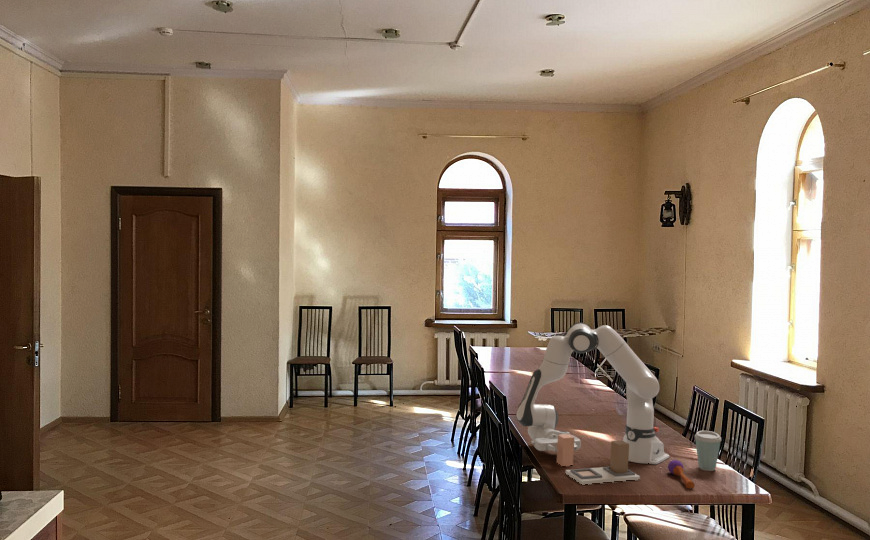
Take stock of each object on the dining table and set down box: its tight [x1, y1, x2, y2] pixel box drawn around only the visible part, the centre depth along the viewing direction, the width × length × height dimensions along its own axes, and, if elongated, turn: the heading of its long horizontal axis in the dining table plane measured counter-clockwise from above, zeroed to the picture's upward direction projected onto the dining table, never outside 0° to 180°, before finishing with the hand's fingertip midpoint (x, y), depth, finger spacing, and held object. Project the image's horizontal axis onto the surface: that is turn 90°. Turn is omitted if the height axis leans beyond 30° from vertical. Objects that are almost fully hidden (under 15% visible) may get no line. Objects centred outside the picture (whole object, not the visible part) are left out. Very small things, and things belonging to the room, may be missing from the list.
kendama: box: [667, 459, 696, 489], centre depth 278 cm, size 6×6×20 cm
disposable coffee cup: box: [694, 430, 722, 472], centre depth 293 cm, size 11×11×15 cm
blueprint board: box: [565, 439, 641, 486], centre depth 278 cm, size 26×13×14 cm, turn 108°
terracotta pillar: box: [556, 434, 575, 467], centre depth 291 cm, size 5×5×12 cm
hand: (566, 449), depth 291 cm, fingers open, 8 cm apart
